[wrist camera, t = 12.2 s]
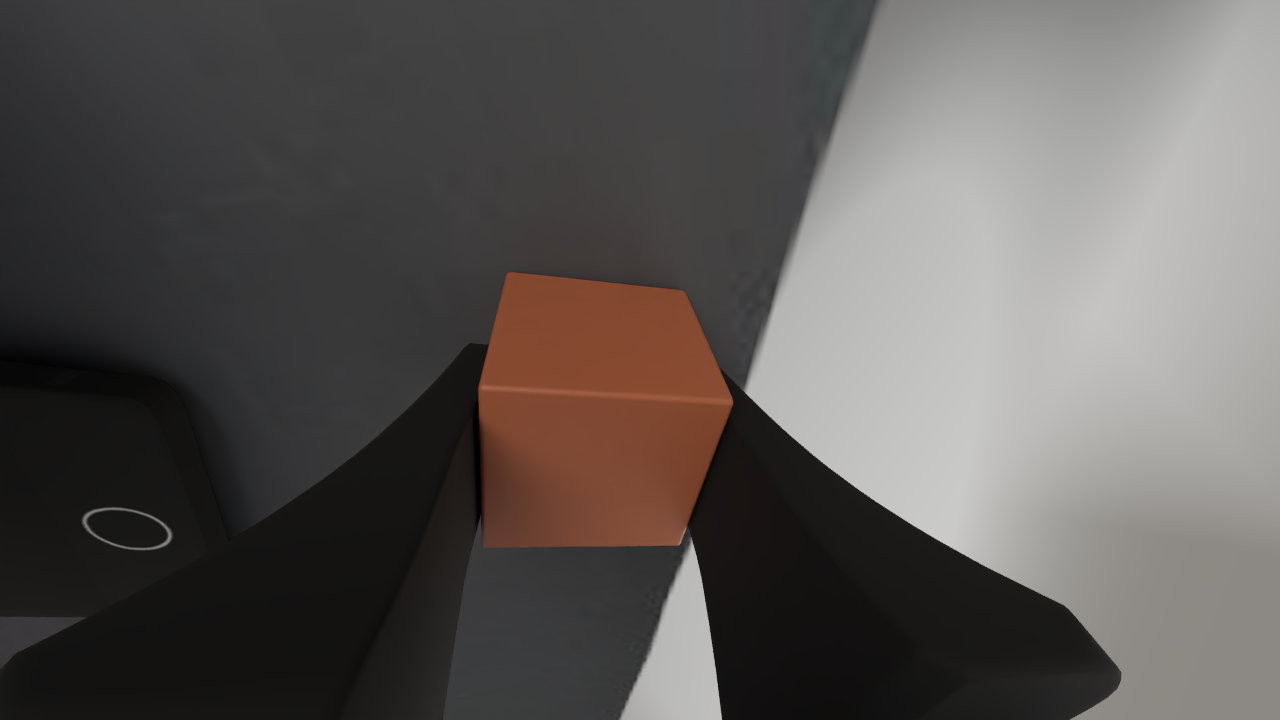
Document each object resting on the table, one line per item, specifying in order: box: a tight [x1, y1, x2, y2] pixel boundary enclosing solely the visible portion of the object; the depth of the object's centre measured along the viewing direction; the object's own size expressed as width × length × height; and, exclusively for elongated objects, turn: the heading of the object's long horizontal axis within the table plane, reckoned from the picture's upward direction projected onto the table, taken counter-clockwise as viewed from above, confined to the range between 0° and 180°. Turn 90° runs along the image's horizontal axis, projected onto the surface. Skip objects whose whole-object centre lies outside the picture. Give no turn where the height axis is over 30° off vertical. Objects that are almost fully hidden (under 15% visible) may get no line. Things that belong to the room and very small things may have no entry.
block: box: [478, 272, 733, 547], centre depth 10 cm, size 4×4×4 cm
